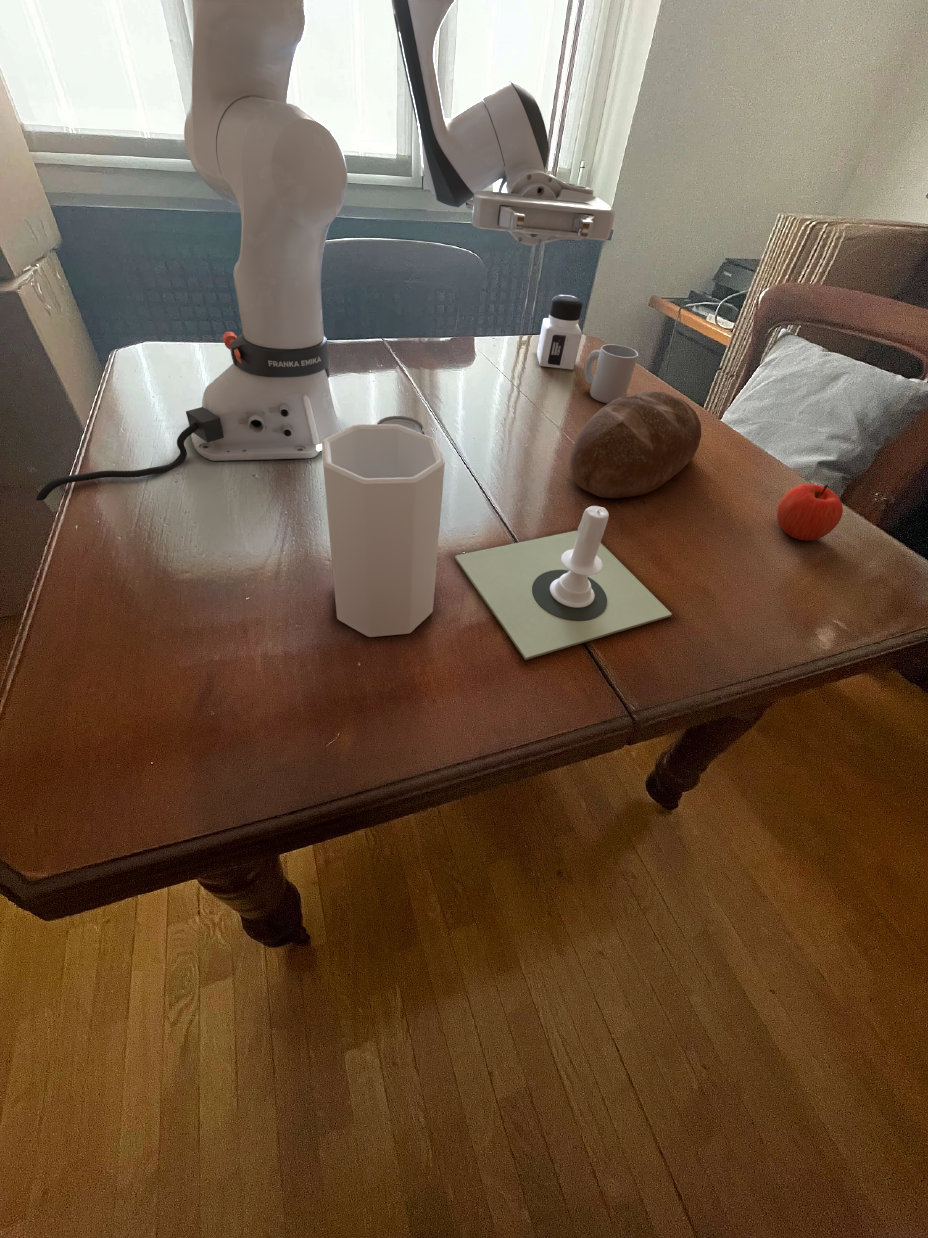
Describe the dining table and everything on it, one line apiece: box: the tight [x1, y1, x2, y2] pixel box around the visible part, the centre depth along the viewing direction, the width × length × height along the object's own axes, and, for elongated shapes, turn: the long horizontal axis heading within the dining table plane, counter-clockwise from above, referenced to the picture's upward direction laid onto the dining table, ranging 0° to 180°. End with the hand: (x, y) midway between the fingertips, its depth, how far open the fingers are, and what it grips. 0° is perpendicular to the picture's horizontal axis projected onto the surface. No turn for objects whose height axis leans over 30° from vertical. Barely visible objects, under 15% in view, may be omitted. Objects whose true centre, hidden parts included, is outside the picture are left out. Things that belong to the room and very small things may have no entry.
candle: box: [550, 505, 610, 608], centre depth 60 cm, size 5×5×12 cm
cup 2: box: [583, 343, 639, 404], centre depth 108 cm, size 7×10×9 cm
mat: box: [454, 529, 673, 661], centre depth 66 cm, size 20×18×1 cm
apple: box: [776, 483, 844, 542], centre depth 78 cm, size 8×8×8 cm
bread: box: [568, 390, 702, 499], centre depth 86 cm, size 16×29×11 cm, turn 139°
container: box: [536, 294, 584, 370], centre depth 118 cm, size 8×8×13 cm
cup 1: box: [321, 423, 446, 638], centre depth 54 cm, size 11×11×18 cm
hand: (553, 226), depth 72 cm, fingers open, 8 cm apart
